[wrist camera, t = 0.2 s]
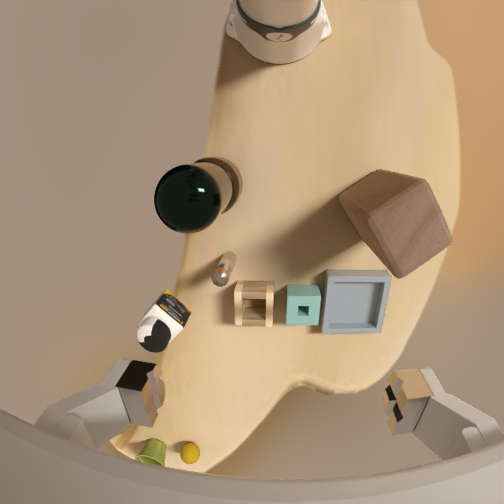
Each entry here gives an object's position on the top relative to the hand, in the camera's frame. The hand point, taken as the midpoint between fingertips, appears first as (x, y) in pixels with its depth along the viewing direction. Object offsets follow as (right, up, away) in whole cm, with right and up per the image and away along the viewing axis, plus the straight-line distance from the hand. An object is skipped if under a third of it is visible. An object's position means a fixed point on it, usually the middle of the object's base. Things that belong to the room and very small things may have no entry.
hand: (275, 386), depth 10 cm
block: (+21, +13, +44) cm, 51 cm away
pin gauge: (-5, +3, +49) cm, 50 cm away
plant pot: (-30, -55, +71) cm, 94 cm away
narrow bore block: (+9, -4, +51) cm, 52 cm away
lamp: (-7, +17, +45) cm, 49 cm away
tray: (+19, -5, +50) cm, 54 cm away
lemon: (-18, -51, +68) cm, 87 cm away
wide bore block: (0, -4, +51) cm, 52 cm away
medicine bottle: (-18, -8, +54) cm, 58 cm away
